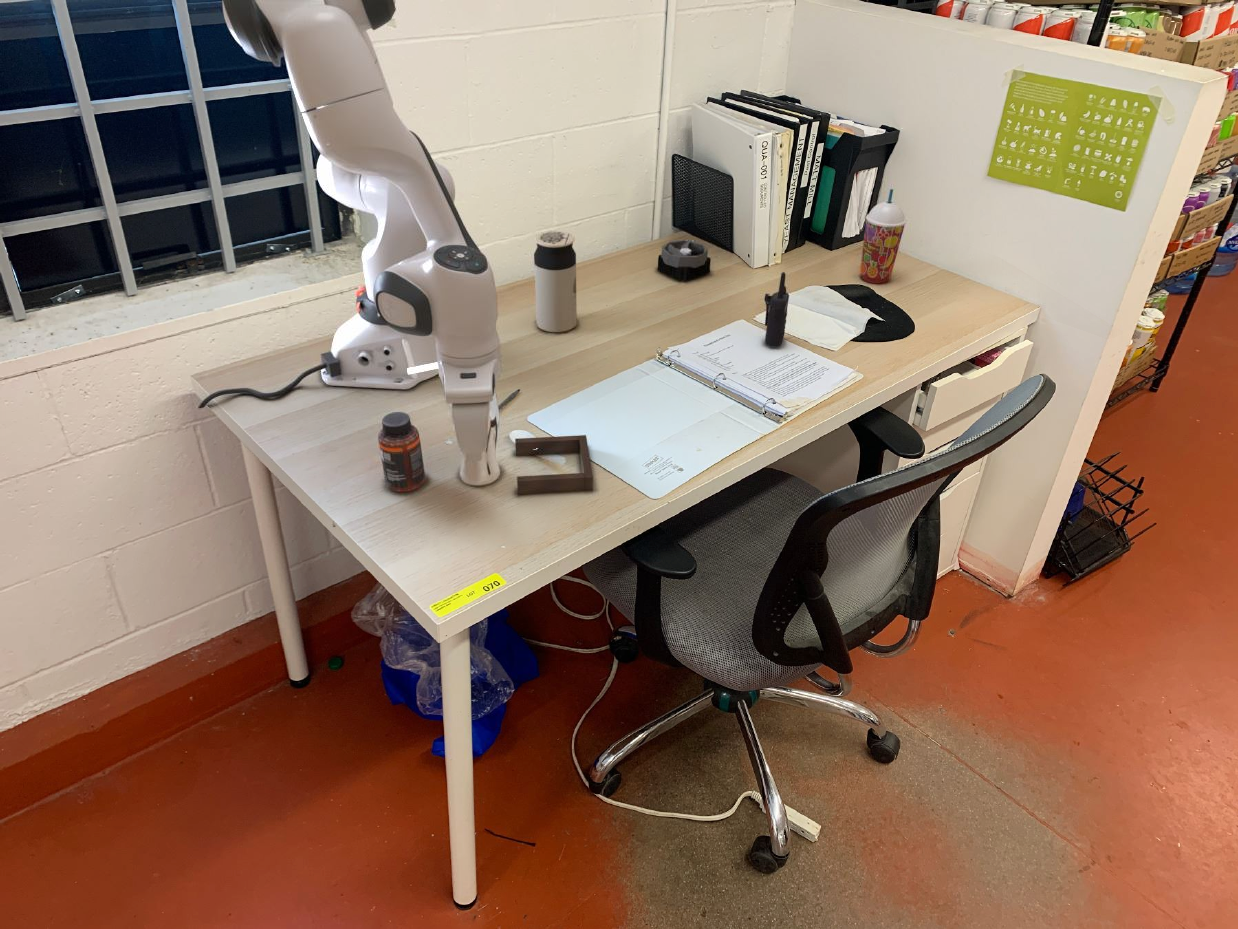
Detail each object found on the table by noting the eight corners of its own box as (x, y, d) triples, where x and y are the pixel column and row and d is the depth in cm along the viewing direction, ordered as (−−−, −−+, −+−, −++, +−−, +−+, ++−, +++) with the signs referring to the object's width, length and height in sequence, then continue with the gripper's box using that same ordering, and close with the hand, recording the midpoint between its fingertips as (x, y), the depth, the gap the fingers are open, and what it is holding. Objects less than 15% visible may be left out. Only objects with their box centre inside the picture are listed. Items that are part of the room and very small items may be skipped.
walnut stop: (517, 494, 135) (517, 481, 134) (515, 451, 144) (515, 438, 143) (592, 490, 136) (592, 476, 135) (586, 447, 146) (586, 434, 144)
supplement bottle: (428, 470, 140) (420, 407, 133) (422, 493, 135) (414, 429, 128) (389, 470, 139) (379, 407, 133) (382, 494, 135) (371, 429, 128)
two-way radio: (779, 350, 174) (789, 276, 165) (756, 346, 175) (765, 273, 167) (785, 337, 178) (794, 265, 170) (762, 334, 179) (771, 262, 171)
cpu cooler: (683, 260, 195) (652, 245, 201) (681, 284, 198) (651, 270, 204) (717, 248, 200) (686, 235, 207) (715, 273, 204) (684, 259, 210)
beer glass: (494, 490, 136) (488, 404, 127) (450, 484, 137) (441, 398, 128) (508, 464, 141) (503, 380, 133) (466, 458, 142) (458, 374, 134)
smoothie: (848, 273, 205) (864, 184, 194) (881, 269, 207) (898, 181, 196) (867, 287, 199) (884, 197, 187) (901, 283, 201) (919, 194, 189)
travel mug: (531, 330, 179) (527, 243, 168) (543, 313, 185) (540, 228, 175) (570, 335, 177) (568, 247, 167) (581, 318, 184) (580, 232, 173)
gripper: (449, 329, 136) (456, 408, 144) (444, 400, 119) (453, 484, 127) (491, 328, 137) (496, 406, 145) (492, 397, 120) (498, 482, 128)
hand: (476, 444), depth 136 cm, fingers closed on beer glass, 6 cm apart
